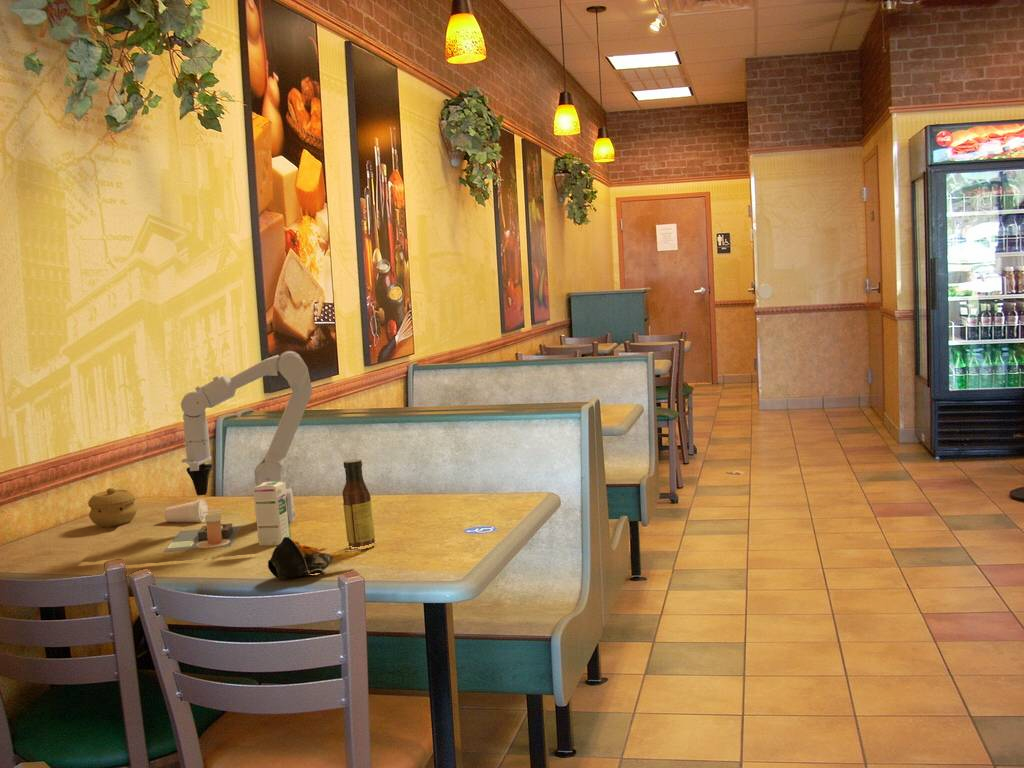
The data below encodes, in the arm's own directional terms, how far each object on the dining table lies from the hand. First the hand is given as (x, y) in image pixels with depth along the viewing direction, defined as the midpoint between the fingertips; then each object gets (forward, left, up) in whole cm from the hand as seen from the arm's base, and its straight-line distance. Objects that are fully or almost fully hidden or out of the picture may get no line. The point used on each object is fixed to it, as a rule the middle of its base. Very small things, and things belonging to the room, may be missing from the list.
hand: (202, 494), depth 263 cm
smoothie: (+11, -12, -7) cm, 18 cm away
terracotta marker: (-5, +17, -8) cm, 19 cm away
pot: (+26, -17, -10) cm, 33 cm away
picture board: (-2, +10, -9) cm, 14 cm away
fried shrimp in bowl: (-30, +48, -10) cm, 57 cm away
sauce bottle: (-39, +29, -10) cm, 50 cm away
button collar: (-4, +9, -9) cm, 14 cm away
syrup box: (-19, +20, -10) cm, 29 cm away
